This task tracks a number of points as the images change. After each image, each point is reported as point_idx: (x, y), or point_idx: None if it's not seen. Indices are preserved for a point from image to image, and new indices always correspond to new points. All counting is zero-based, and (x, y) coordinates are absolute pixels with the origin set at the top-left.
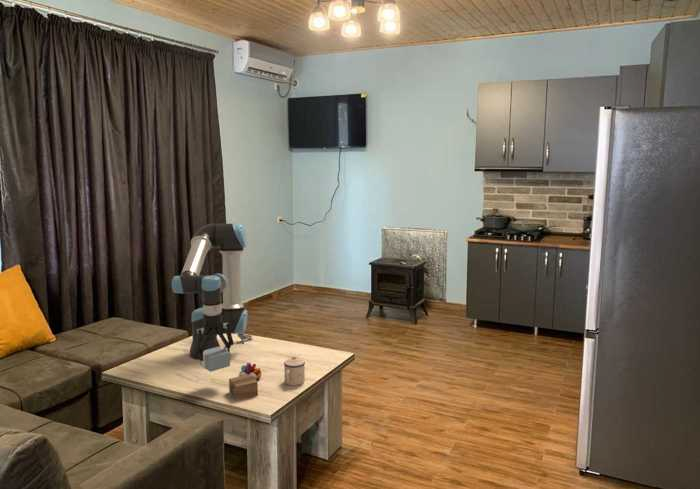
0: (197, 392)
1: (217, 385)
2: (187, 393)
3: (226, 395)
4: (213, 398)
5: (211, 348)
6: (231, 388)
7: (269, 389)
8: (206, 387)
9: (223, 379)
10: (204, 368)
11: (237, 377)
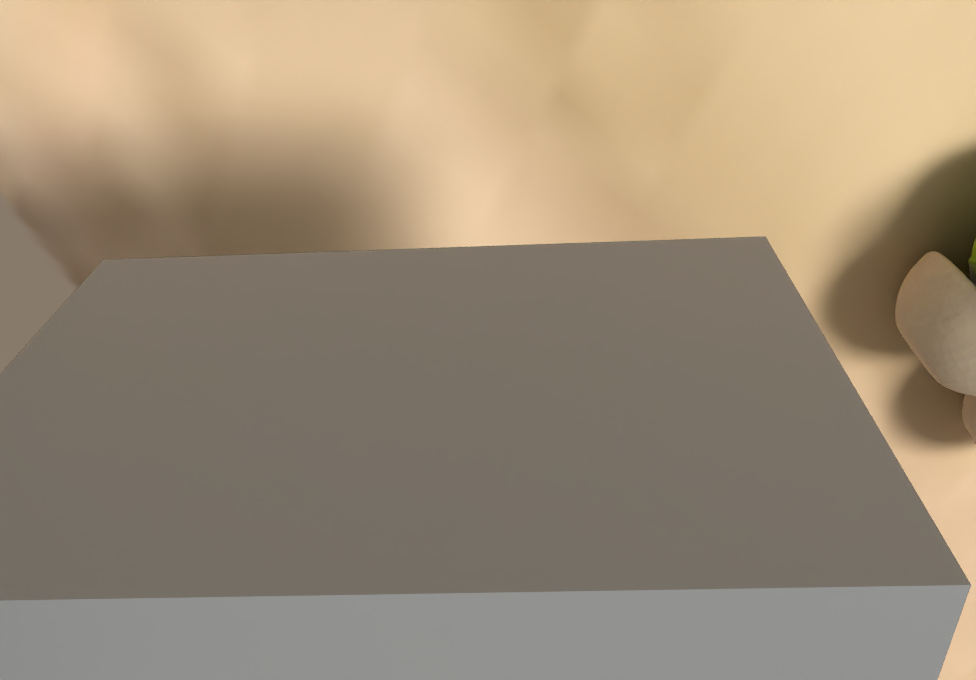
0: (159, 238)
1: (525, 192)
2: (3, 176)
3: None
4: None
5: (493, 590)
6: None
7: (945, 661)
8: (343, 152)
9: (743, 15)
10: None
11: None
